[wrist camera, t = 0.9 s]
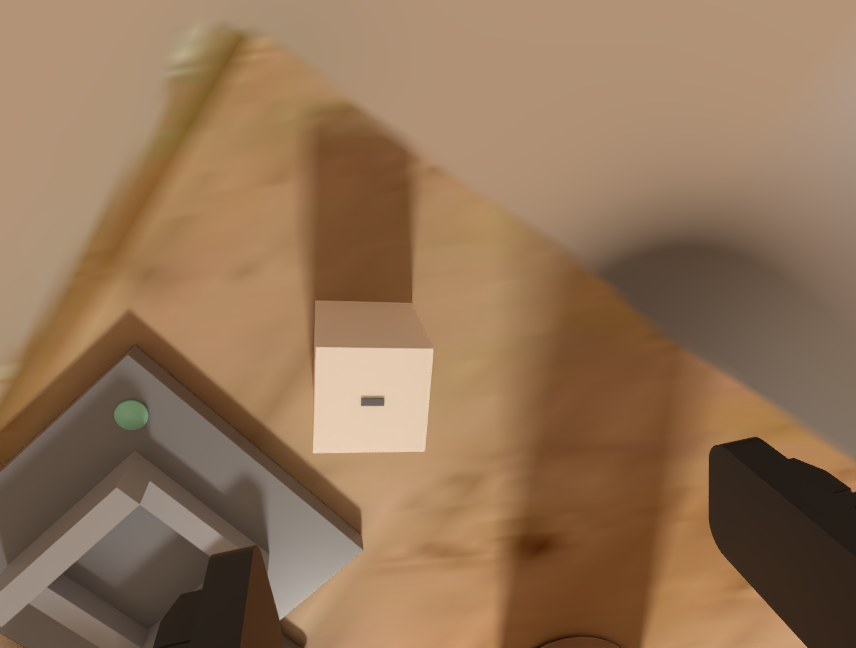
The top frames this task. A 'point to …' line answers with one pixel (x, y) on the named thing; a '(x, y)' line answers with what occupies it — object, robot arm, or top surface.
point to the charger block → (370, 377)
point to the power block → (146, 515)
